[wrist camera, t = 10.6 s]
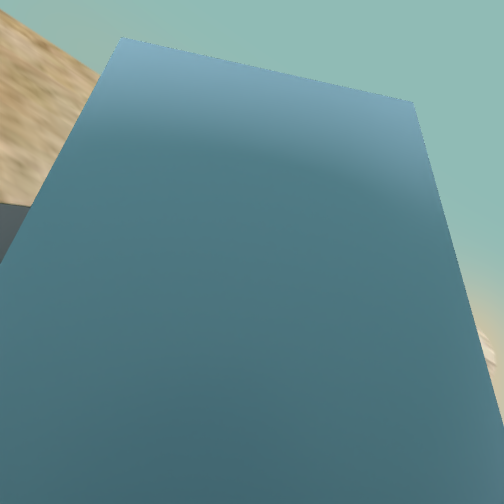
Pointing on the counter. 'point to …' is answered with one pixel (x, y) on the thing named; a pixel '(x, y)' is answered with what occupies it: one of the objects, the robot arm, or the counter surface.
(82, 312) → the light blue rectangular block
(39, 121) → the counter surface
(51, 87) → the counter surface
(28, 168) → the counter surface
